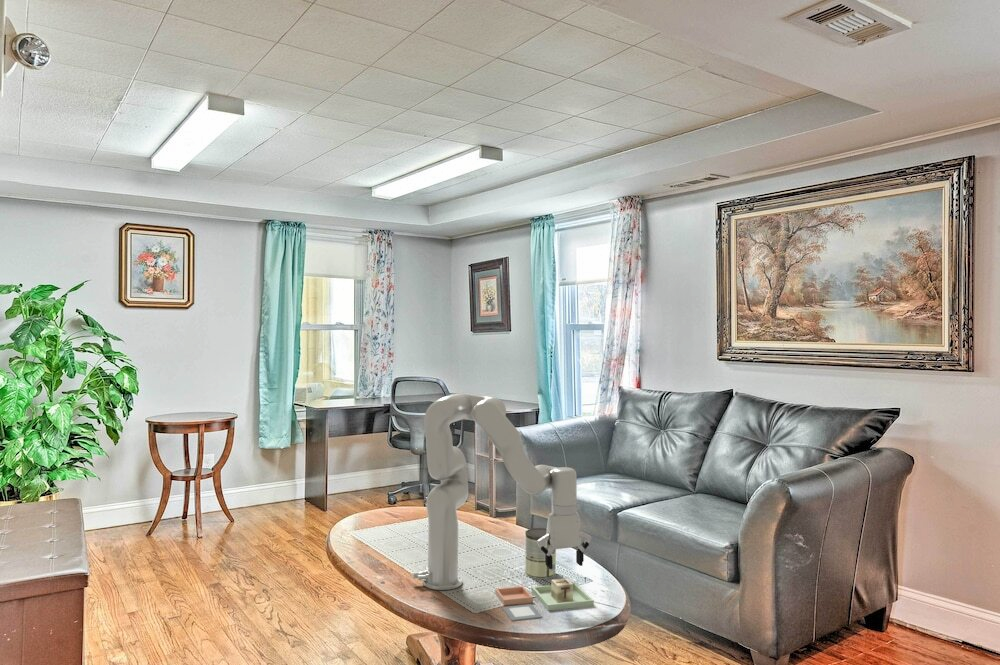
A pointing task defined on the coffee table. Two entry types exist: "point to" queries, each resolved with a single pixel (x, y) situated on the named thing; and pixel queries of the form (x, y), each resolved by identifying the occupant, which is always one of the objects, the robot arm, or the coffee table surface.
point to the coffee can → (537, 555)
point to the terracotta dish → (513, 595)
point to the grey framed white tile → (522, 612)
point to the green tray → (550, 604)
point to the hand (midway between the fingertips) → (564, 566)
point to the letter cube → (561, 590)
